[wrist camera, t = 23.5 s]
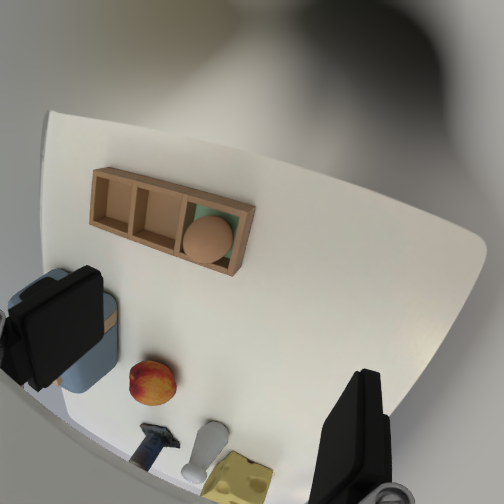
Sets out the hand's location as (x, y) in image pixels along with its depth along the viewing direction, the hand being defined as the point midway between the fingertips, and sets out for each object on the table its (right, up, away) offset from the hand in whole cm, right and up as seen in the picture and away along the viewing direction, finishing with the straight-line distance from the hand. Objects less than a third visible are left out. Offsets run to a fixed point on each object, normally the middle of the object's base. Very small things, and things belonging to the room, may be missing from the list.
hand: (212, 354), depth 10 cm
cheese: (0, -43, +46) cm, 63 cm away
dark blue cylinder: (-19, -37, +49) cm, 65 cm away
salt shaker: (-5, -30, +43) cm, 53 cm away
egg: (-3, +6, +29) cm, 30 cm away
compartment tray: (-10, +9, +31) cm, 34 cm away
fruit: (-14, -17, +41) cm, 47 cm away
